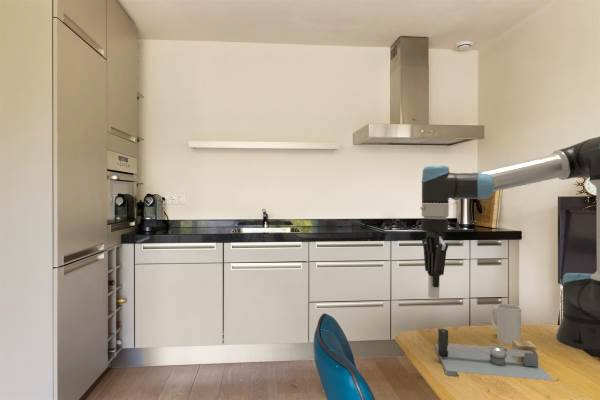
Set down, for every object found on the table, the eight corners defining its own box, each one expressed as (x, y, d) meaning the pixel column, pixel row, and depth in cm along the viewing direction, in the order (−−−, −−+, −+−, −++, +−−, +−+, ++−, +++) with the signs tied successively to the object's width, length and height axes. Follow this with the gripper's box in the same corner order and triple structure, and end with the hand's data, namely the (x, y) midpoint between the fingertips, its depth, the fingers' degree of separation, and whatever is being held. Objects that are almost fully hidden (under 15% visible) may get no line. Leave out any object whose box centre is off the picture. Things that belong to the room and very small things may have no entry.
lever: (532, 361, 100) (532, 334, 100) (539, 368, 95) (539, 340, 96) (436, 352, 105) (437, 327, 105) (439, 359, 101) (439, 332, 101)
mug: (526, 347, 114) (526, 308, 114) (510, 349, 112) (510, 310, 112) (498, 336, 123) (498, 300, 124) (483, 338, 121) (483, 302, 121)
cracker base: (524, 355, 108) (524, 345, 108) (554, 385, 90) (554, 373, 90) (435, 347, 113) (435, 337, 113) (446, 375, 95) (446, 363, 95)
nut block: (529, 356, 104) (529, 341, 104) (536, 363, 99) (536, 347, 99) (512, 355, 104) (512, 339, 105) (518, 362, 100) (518, 345, 100)
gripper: (414, 217, 115) (413, 291, 115) (431, 218, 102) (430, 303, 102) (437, 217, 116) (436, 291, 115) (457, 219, 103) (456, 303, 102)
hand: (433, 297), depth 109 cm, fingers closed
